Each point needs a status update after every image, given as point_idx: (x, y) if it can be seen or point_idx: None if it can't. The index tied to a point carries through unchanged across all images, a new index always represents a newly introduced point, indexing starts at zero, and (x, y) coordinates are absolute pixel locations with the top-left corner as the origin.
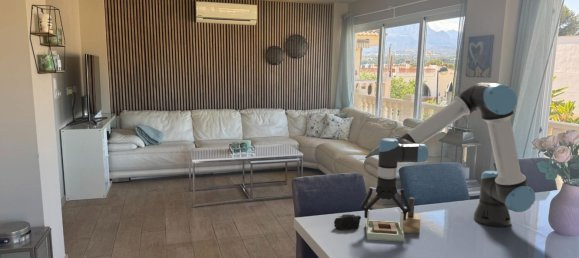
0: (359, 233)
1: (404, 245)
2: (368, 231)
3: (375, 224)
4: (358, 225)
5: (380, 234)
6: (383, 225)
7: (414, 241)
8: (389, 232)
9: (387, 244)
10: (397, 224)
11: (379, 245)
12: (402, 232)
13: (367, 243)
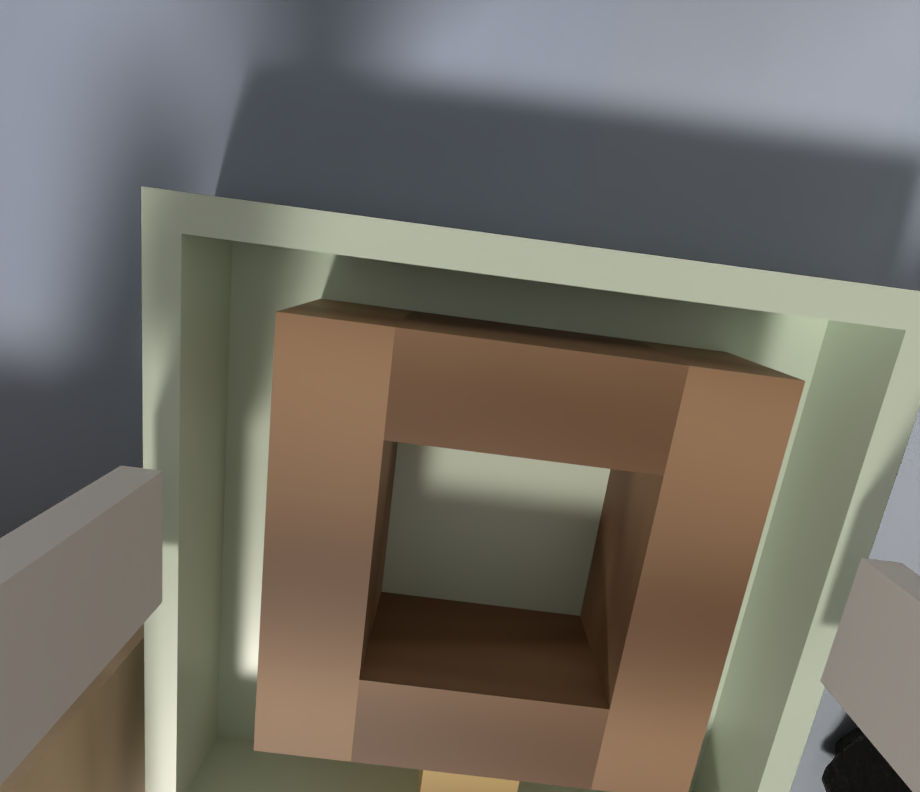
0: (892, 537)
1: (229, 42)
2: (903, 380)
3: (675, 669)
4: (857, 770)
5: (668, 257)
6: (490, 673)
7: (22, 236)
8: (452, 328)
9: (541, 80)
10: (202, 779)
11: (707, 25)
12: (161, 347)
13: (906, 115)
